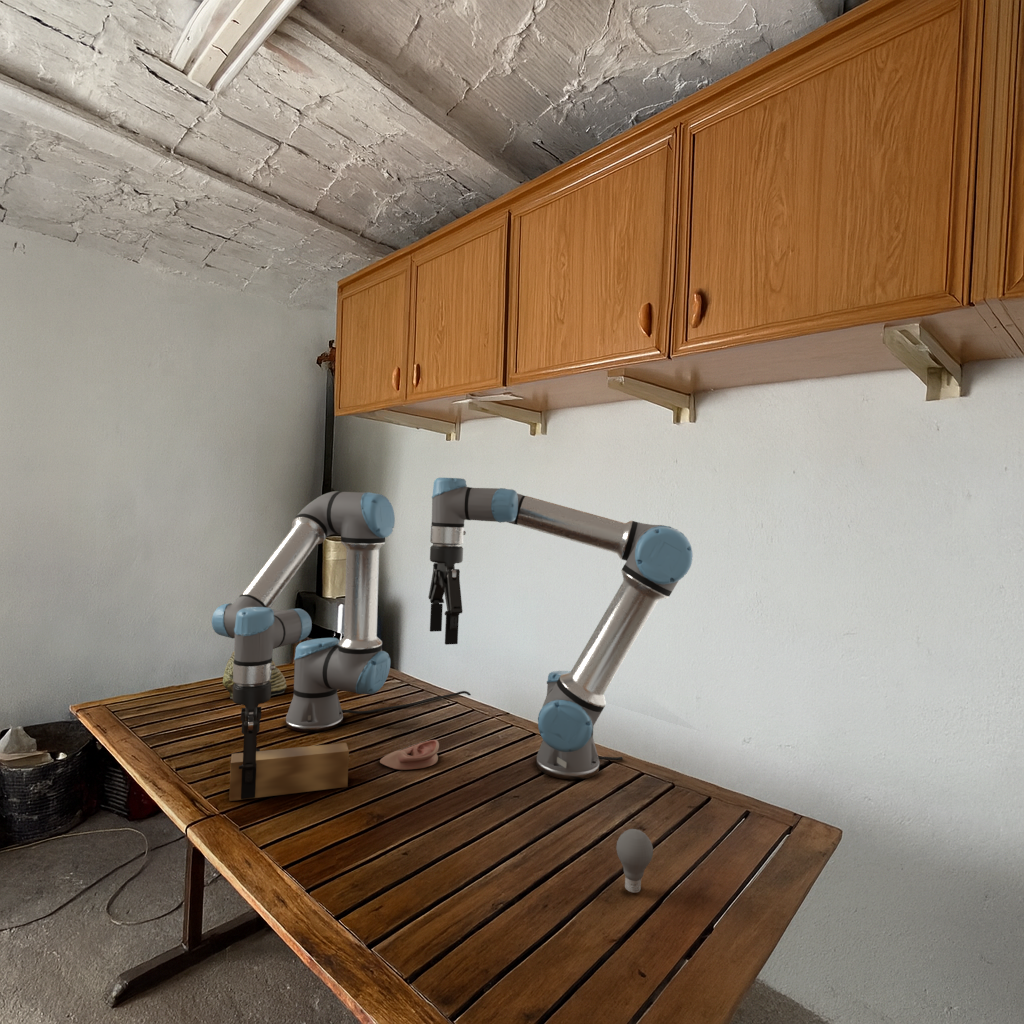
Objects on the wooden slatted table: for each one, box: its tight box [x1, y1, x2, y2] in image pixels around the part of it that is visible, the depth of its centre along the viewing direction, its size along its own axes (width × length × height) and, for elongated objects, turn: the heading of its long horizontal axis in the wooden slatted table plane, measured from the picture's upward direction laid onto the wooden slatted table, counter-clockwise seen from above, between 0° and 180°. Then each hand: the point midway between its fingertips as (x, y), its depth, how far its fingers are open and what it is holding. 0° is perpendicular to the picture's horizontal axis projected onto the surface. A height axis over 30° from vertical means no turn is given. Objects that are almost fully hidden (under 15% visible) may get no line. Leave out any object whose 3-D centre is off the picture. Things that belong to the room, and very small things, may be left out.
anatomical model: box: [379, 739, 440, 771], centre depth 154 cm, size 13×4×12 cm
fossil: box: [222, 651, 288, 699], centre depth 198 cm, size 9×18×15 cm, turn 132°
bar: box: [228, 742, 350, 802], centre depth 137 cm, size 24×5×8 cm, turn 111°
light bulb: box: [615, 828, 654, 894], centre depth 106 cm, size 6×6×10 cm
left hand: (248, 791), depth 134 cm, fingers closed on bar, 5 cm apart
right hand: (443, 637), depth 145 cm, fingers open, 13 cm apart
